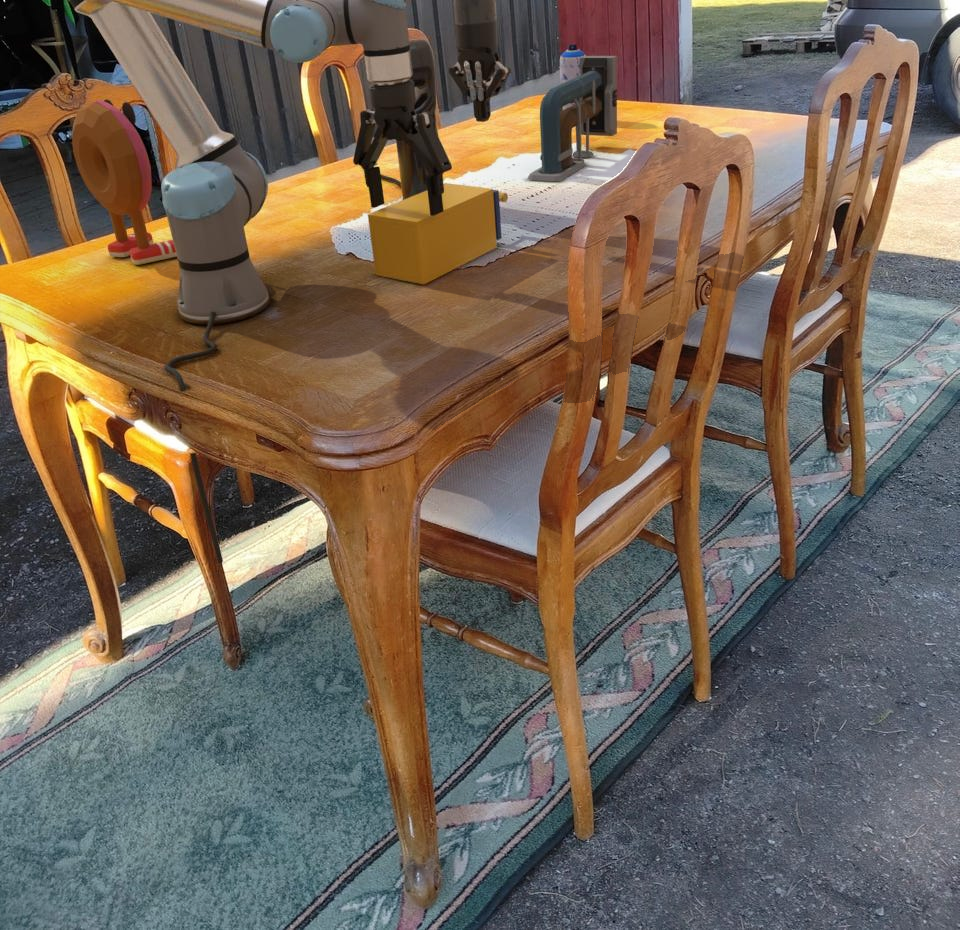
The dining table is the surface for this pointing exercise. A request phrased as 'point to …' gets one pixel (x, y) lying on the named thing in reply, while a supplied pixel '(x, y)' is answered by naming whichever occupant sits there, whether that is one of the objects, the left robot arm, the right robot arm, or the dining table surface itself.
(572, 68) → the aerosol can
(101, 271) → the dining table surface
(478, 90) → the right robot arm
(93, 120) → the toy
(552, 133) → the clamp
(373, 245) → the yellow rectangular block
